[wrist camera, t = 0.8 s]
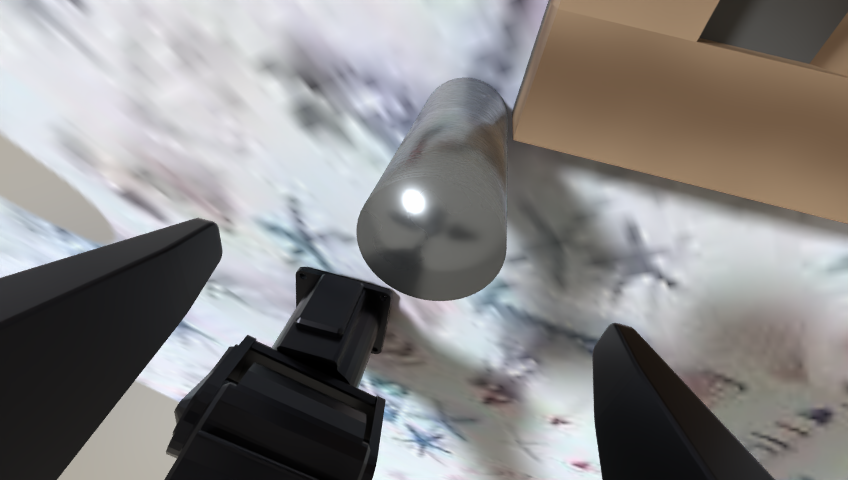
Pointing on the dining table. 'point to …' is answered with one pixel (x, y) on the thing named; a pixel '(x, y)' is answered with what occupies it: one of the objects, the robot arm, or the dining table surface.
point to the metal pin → (442, 198)
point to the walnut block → (698, 94)
